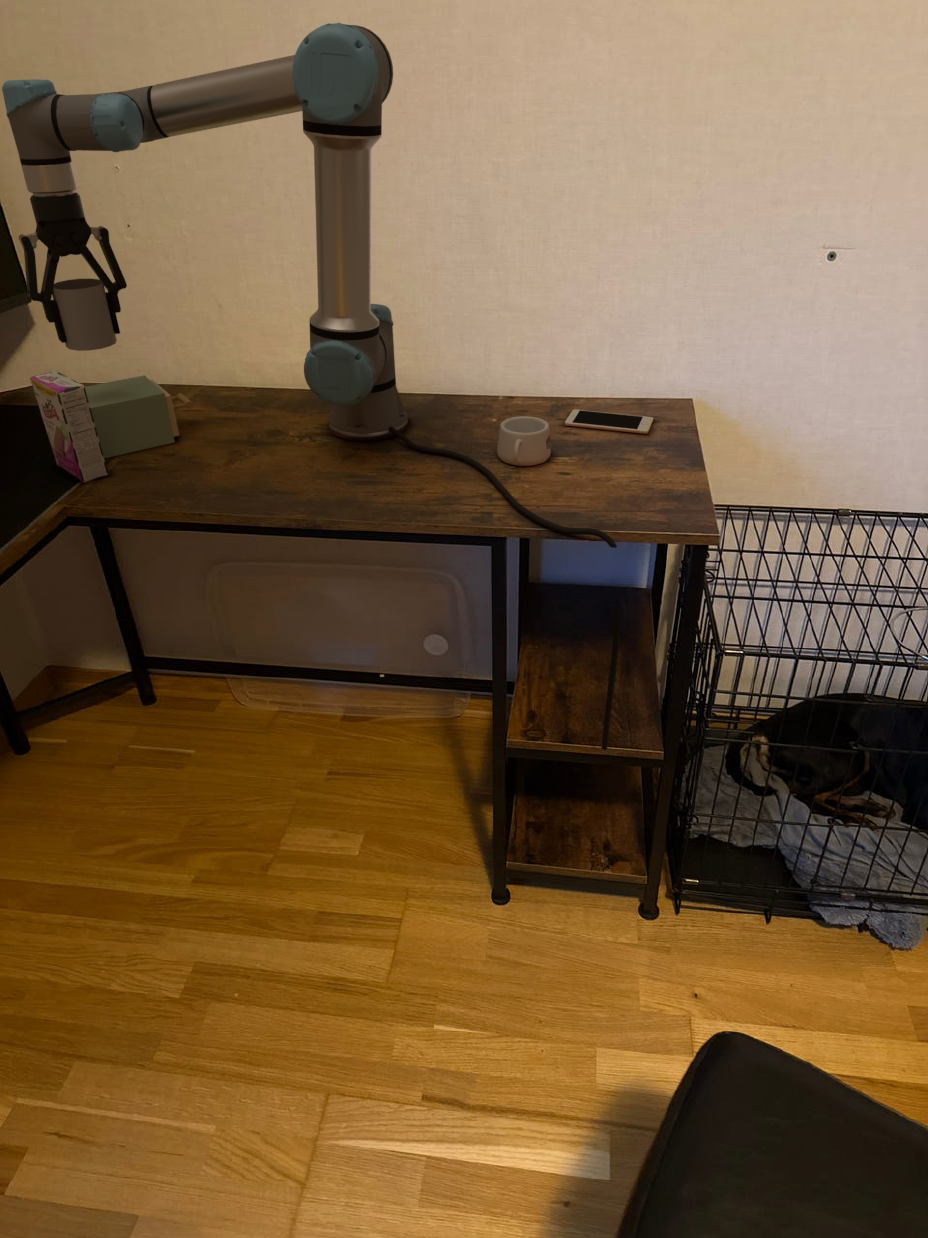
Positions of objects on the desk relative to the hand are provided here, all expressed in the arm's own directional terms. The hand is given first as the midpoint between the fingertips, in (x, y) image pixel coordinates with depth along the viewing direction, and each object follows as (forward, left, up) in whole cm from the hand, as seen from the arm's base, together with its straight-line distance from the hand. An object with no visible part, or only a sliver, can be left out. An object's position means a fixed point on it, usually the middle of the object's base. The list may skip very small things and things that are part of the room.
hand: (89, 336), depth 151 cm
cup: (0, 0, -2) cm, 2 cm away
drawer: (+2, -6, -20) cm, 21 cm away
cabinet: (+2, -2, -21) cm, 21 cm away
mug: (-49, -58, -21) cm, 79 cm away
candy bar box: (-8, +8, -21) cm, 24 cm away
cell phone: (-45, -82, -21) cm, 96 cm away
